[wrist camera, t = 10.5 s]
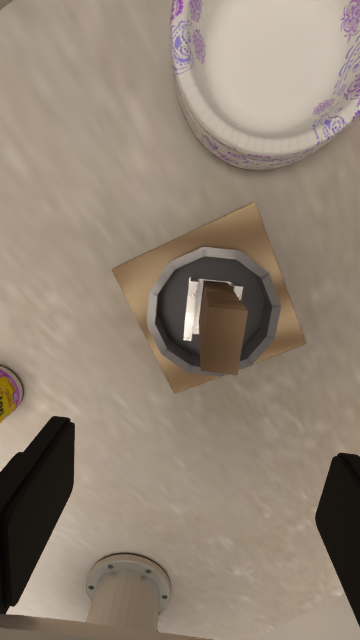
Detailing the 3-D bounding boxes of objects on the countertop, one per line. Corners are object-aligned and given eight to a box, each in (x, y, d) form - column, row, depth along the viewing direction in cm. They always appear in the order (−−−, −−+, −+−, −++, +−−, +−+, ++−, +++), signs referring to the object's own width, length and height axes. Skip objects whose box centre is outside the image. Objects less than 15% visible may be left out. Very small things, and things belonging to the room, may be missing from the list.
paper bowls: (168, -8, 25) (157, -116, 17) (353, -36, 24) (428, -164, 16) (183, 185, 29) (179, 167, 21) (342, 169, 28) (396, 144, 20)
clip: (239, 282, 30) (243, 286, 28) (231, 337, 32) (234, 345, 29) (189, 277, 30) (189, 281, 28) (183, 332, 32) (182, 340, 30)
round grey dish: (280, 253, 30) (291, 255, 26) (259, 366, 33) (266, 381, 30) (157, 241, 30) (152, 241, 27) (148, 354, 33) (143, 367, 30)
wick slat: (227, 282, 30) (247, 311, 19) (221, 324, 31) (237, 374, 20) (203, 280, 30) (208, 306, 19) (198, 321, 31) (200, 370, 20)
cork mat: (304, 341, 33) (306, 343, 32) (174, 391, 35) (174, 393, 35) (253, 202, 29) (254, 201, 28) (113, 269, 32) (111, 269, 31)
